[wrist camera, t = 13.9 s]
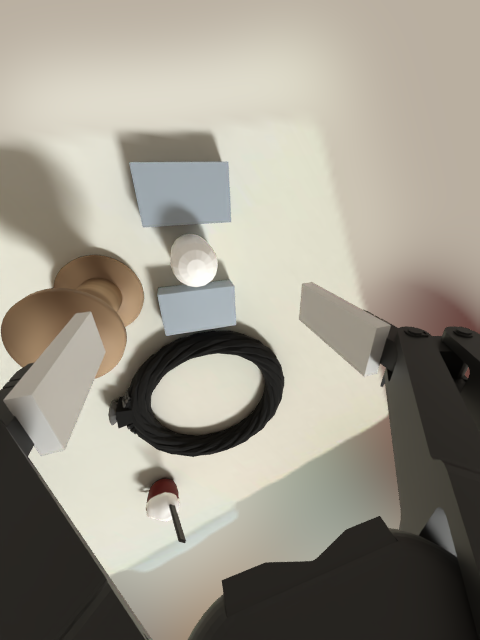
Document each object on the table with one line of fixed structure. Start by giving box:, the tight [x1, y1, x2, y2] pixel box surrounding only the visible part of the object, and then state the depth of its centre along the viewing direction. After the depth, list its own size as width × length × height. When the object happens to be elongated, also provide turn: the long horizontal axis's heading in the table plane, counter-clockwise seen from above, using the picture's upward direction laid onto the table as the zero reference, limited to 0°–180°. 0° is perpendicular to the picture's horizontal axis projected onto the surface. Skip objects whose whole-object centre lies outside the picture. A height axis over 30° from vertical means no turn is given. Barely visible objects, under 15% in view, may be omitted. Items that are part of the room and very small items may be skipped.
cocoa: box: [146, 479, 186, 543], centre depth 46 cm, size 10×6×12 cm, turn 104°
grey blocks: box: [129, 162, 236, 336], centre depth 30 cm, size 10×20×3 cm, turn 2°
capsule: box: [171, 233, 218, 287], centre depth 28 cm, size 5×5×8 cm
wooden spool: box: [1, 255, 144, 378], centre depth 25 cm, size 10×10×12 cm
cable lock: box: [108, 331, 284, 457], centre depth 41 cm, size 28×4×30 cm
